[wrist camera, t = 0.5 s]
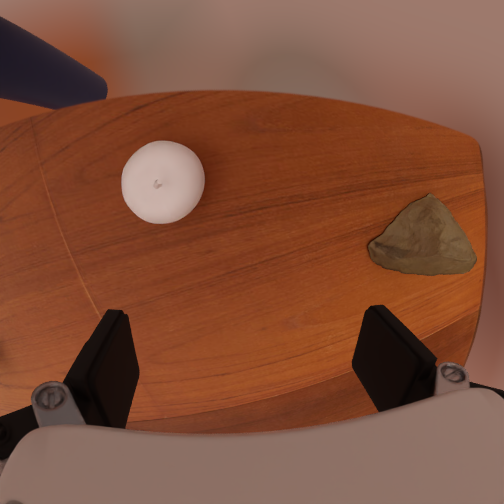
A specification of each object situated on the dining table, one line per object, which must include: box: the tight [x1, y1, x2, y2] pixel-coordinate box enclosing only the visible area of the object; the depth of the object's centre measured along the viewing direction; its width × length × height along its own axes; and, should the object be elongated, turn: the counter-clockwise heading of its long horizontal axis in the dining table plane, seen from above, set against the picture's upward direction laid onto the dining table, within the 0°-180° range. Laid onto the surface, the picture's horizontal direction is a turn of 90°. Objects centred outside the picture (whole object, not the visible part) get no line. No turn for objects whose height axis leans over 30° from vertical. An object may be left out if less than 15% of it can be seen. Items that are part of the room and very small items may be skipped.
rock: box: [368, 193, 477, 276], centre depth 27 cm, size 11×9×10 cm
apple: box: [121, 141, 205, 224], centre depth 22 cm, size 7×7×8 cm
